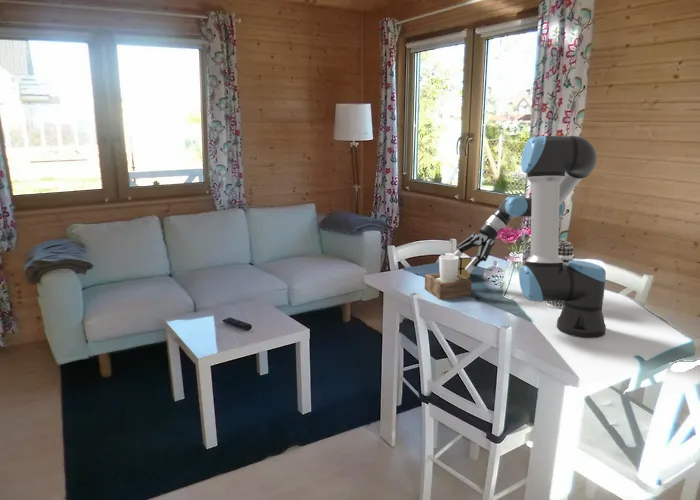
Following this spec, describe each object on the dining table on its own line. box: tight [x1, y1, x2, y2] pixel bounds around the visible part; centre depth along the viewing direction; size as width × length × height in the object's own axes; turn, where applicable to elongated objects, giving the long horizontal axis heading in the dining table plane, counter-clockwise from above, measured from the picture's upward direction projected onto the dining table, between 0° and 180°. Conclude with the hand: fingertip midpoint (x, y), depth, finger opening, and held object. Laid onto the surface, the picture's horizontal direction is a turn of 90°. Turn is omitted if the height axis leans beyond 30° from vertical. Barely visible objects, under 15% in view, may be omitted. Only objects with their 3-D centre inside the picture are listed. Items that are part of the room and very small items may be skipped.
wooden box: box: [424, 272, 473, 300], centre depth 214 cm, size 14×14×6 cm
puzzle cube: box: [442, 252, 472, 279], centre depth 237 cm, size 10×10×10 cm
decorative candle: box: [545, 240, 575, 310], centre depth 197 cm, size 9×9×25 cm
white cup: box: [438, 254, 459, 282], centre depth 213 cm, size 8×8×10 cm
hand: (458, 267), depth 214 cm, fingers open, 13 cm apart
